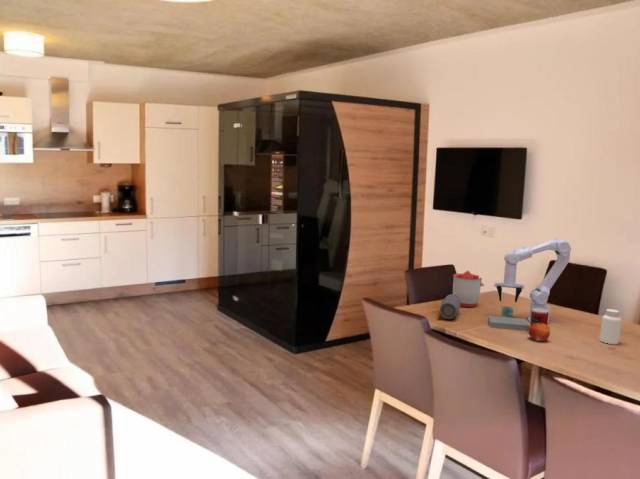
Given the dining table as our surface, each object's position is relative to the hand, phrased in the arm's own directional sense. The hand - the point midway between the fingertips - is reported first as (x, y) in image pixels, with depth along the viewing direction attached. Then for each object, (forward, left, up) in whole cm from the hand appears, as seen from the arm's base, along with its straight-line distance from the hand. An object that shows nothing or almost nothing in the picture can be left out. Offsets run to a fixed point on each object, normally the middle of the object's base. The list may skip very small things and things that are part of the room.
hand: (507, 301), depth 291 cm
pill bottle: (-42, +27, -10) cm, 51 cm away
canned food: (-12, +21, -10) cm, 26 cm away
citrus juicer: (+19, -24, -10) cm, 32 cm away
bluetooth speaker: (+29, +4, -10) cm, 31 cm away
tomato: (-10, +34, -10) cm, 37 cm away
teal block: (0, 0, -10) cm, 10 cm away
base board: (+1, +13, -9) cm, 16 cm away
